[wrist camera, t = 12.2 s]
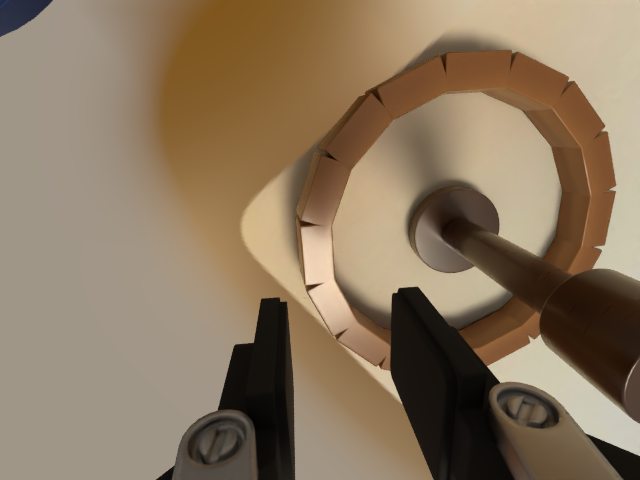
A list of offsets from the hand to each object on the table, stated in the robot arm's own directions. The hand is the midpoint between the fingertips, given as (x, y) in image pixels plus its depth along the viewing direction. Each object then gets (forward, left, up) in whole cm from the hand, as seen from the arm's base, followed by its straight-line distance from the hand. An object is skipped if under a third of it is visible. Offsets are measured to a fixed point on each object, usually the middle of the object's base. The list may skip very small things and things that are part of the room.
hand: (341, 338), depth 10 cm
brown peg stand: (+6, +6, -10) cm, 13 cm away
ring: (+5, +6, -10) cm, 12 cm away
